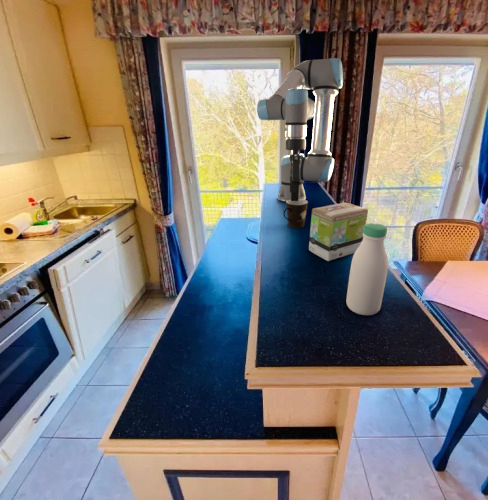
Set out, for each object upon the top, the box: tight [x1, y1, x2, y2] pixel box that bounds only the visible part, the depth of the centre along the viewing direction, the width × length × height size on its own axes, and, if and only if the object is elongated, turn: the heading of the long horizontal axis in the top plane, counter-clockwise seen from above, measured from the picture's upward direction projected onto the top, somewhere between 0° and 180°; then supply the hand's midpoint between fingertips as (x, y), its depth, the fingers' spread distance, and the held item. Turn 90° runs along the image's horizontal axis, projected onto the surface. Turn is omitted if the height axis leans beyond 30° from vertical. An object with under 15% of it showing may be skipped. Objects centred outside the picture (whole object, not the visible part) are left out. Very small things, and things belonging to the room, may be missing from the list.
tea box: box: [308, 201, 369, 262], centre depth 90 cm, size 15×10×15 cm, turn 122°
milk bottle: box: [345, 222, 389, 316], centre depth 61 cm, size 8×8×20 cm
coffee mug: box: [282, 199, 309, 229], centre depth 113 cm, size 12×9×10 cm
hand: (293, 196), depth 109 cm, fingers open, 13 cm apart
